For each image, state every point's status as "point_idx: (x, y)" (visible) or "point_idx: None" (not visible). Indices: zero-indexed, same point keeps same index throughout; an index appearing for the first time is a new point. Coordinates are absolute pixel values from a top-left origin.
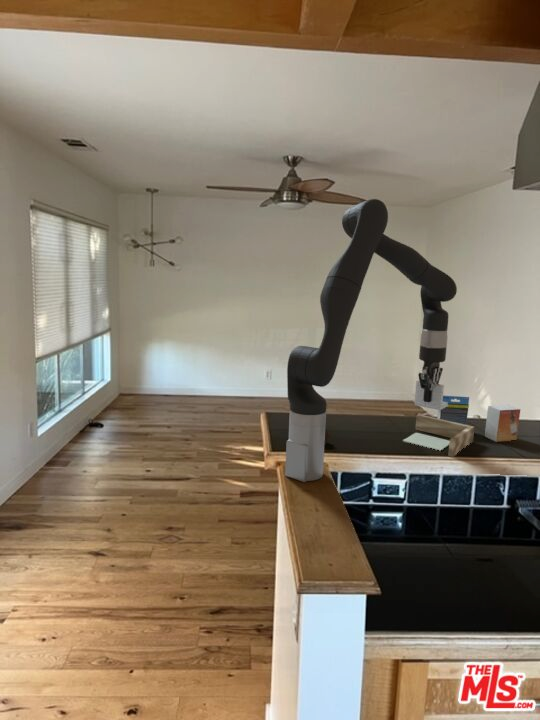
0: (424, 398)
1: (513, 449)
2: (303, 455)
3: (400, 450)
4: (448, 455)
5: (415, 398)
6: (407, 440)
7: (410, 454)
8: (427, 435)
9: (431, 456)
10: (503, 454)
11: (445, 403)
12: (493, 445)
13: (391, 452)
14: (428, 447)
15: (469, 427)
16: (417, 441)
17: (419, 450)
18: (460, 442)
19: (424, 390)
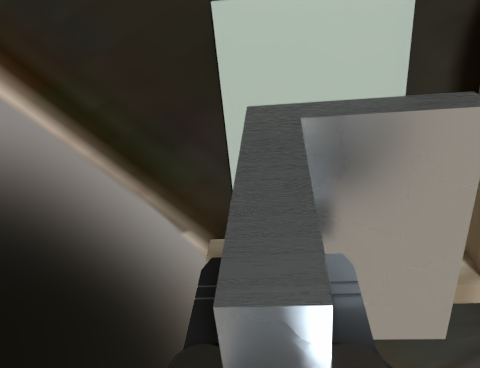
0: (200, 277)
1: (471, 360)
2: None
3: (84, 68)
4: (210, 242)
5: (243, 140)
6: (229, 25)
7: (86, 128)
8: (405, 64)
9: (147, 199)
10: (387, 352)
11: (393, 337)
12: (475, 309)
13: (20, 51)
14: (228, 150)
15: (473, 291)
16: (259, 75)
17: (167, 133)
18: None
19: (214, 334)
